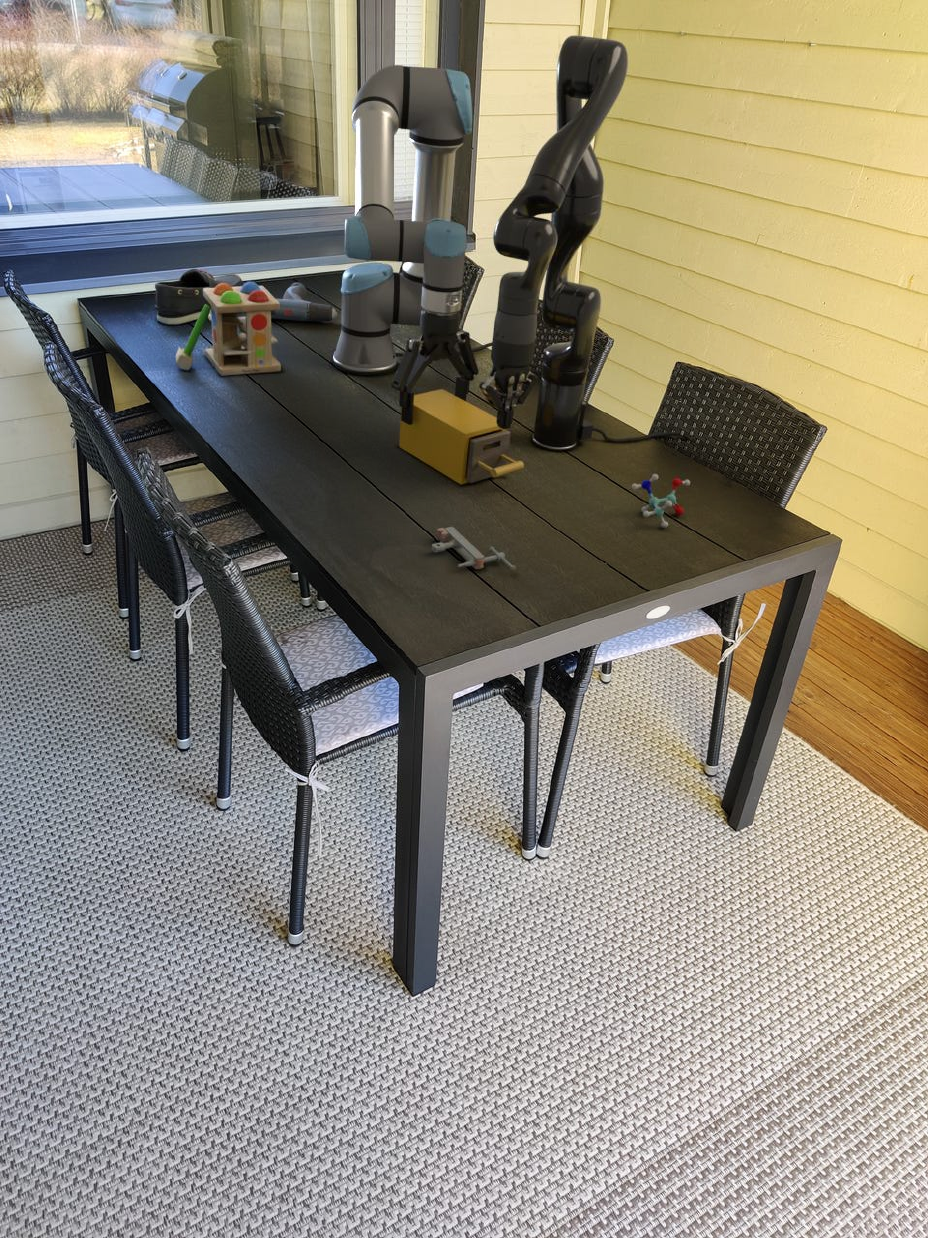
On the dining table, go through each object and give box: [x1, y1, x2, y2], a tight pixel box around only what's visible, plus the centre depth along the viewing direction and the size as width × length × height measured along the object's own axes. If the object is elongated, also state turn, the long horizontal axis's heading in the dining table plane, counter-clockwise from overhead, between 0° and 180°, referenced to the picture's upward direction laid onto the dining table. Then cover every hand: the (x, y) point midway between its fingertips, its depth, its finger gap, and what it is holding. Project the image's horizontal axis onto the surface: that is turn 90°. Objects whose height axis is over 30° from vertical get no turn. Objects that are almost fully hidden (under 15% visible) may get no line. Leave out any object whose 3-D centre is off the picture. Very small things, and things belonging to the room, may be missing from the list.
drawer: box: [466, 429, 525, 484], centre depth 192 cm, size 24×9×8 cm, turn 40°
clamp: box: [431, 526, 517, 572], centre depth 165 cm, size 15×2×10 cm
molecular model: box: [631, 473, 691, 529], centre depth 183 cm, size 12×10×10 cm
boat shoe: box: [154, 268, 245, 325], centre depth 260 cm, size 13×33×10 cm, turn 147°
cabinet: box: [398, 388, 507, 485], centre depth 195 cm, size 20×10×10 cm, turn 40°
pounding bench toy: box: [174, 281, 282, 377], centre depth 225 cm, size 23×14×18 cm, turn 116°
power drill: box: [271, 282, 338, 322], centre depth 265 cm, size 5×19×20 cm
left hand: (433, 415), depth 197 cm, fingers open, 13 cm apart
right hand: (503, 427), depth 182 cm, fingers closed
